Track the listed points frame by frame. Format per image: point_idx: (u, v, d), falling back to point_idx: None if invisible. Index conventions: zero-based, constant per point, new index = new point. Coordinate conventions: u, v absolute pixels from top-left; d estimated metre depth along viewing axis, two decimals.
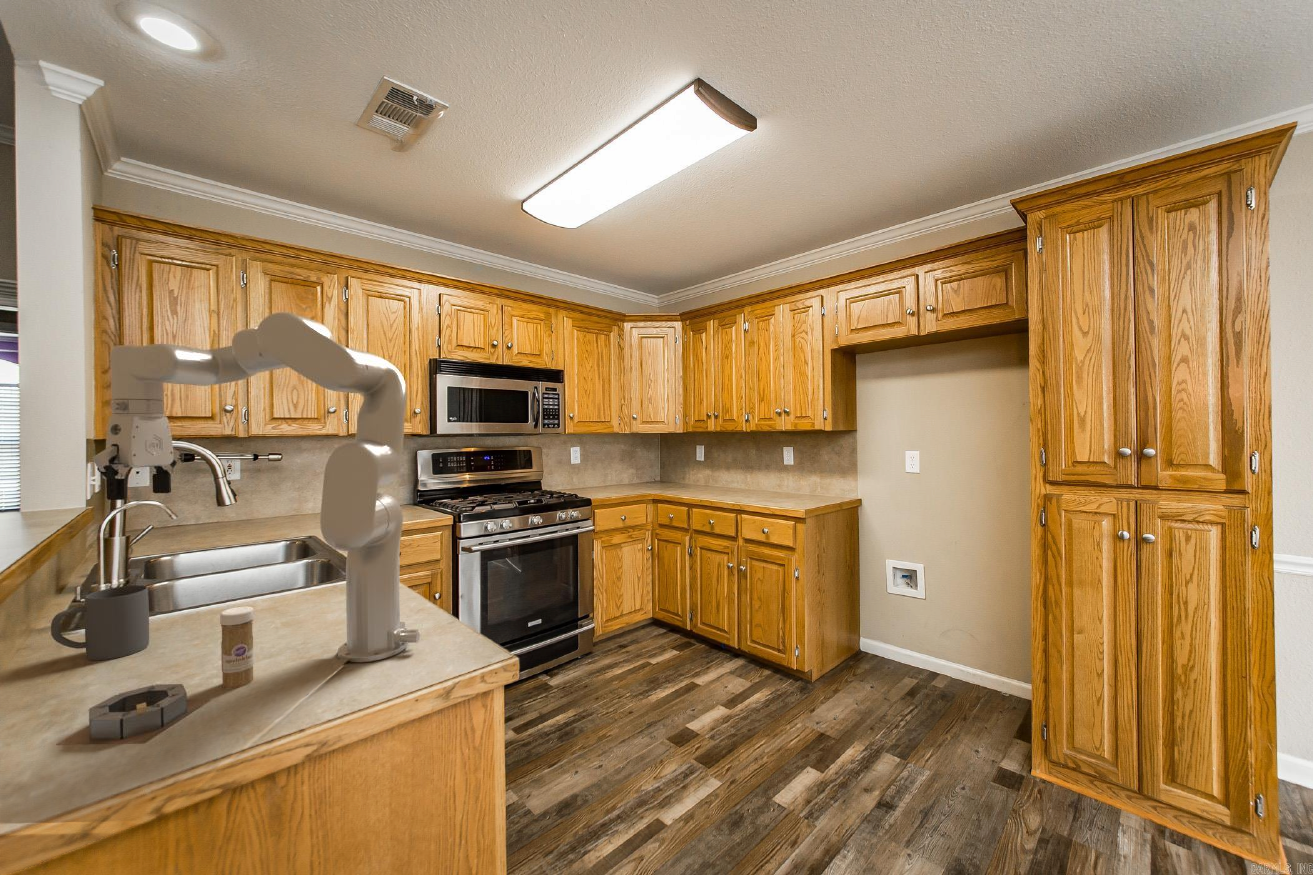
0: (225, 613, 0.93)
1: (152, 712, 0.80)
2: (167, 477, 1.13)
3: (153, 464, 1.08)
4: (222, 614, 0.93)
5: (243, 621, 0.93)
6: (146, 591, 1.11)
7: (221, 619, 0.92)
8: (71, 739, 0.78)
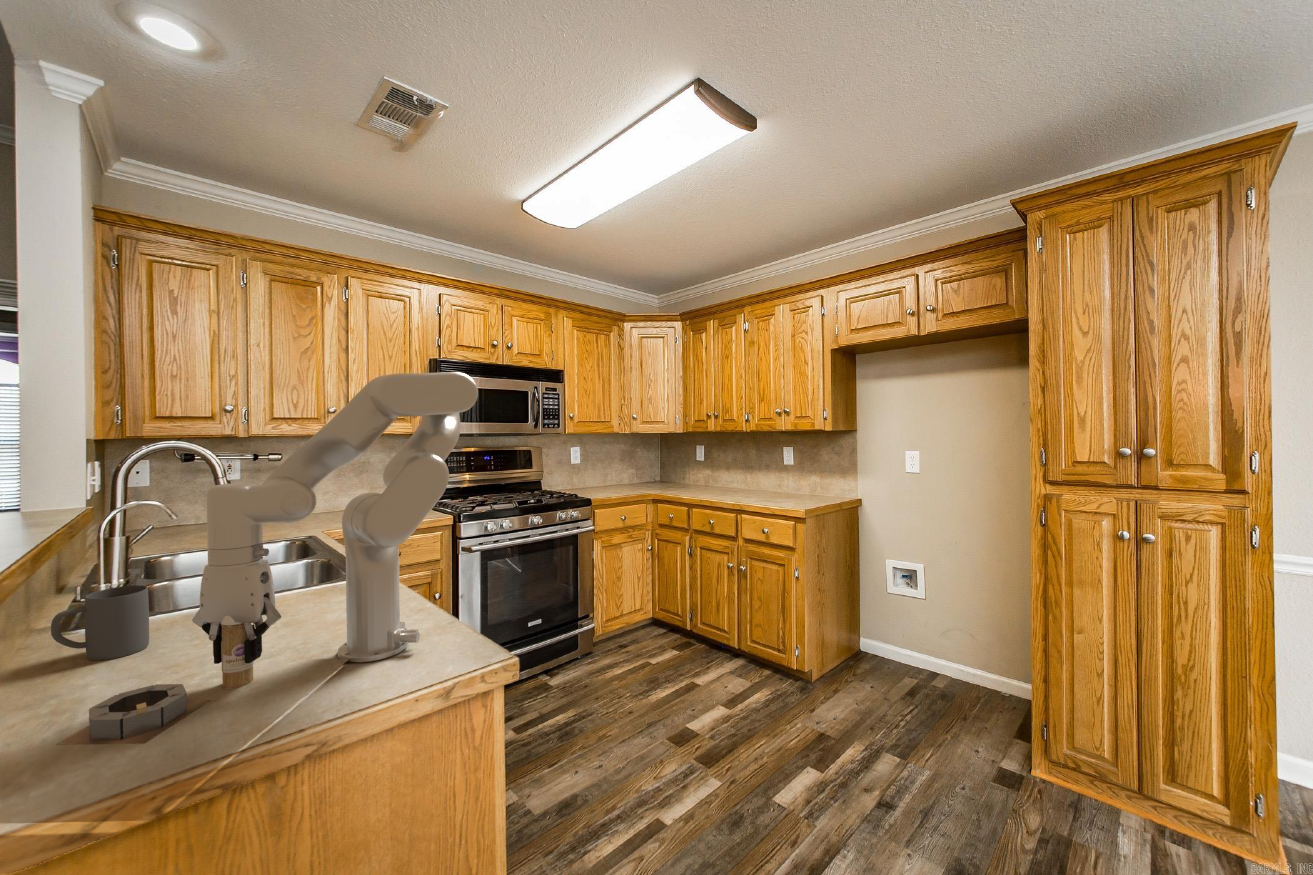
0: None
1: (152, 712, 0.80)
2: None
3: None
4: None
5: None
6: (146, 591, 1.11)
7: None
8: (71, 739, 0.78)
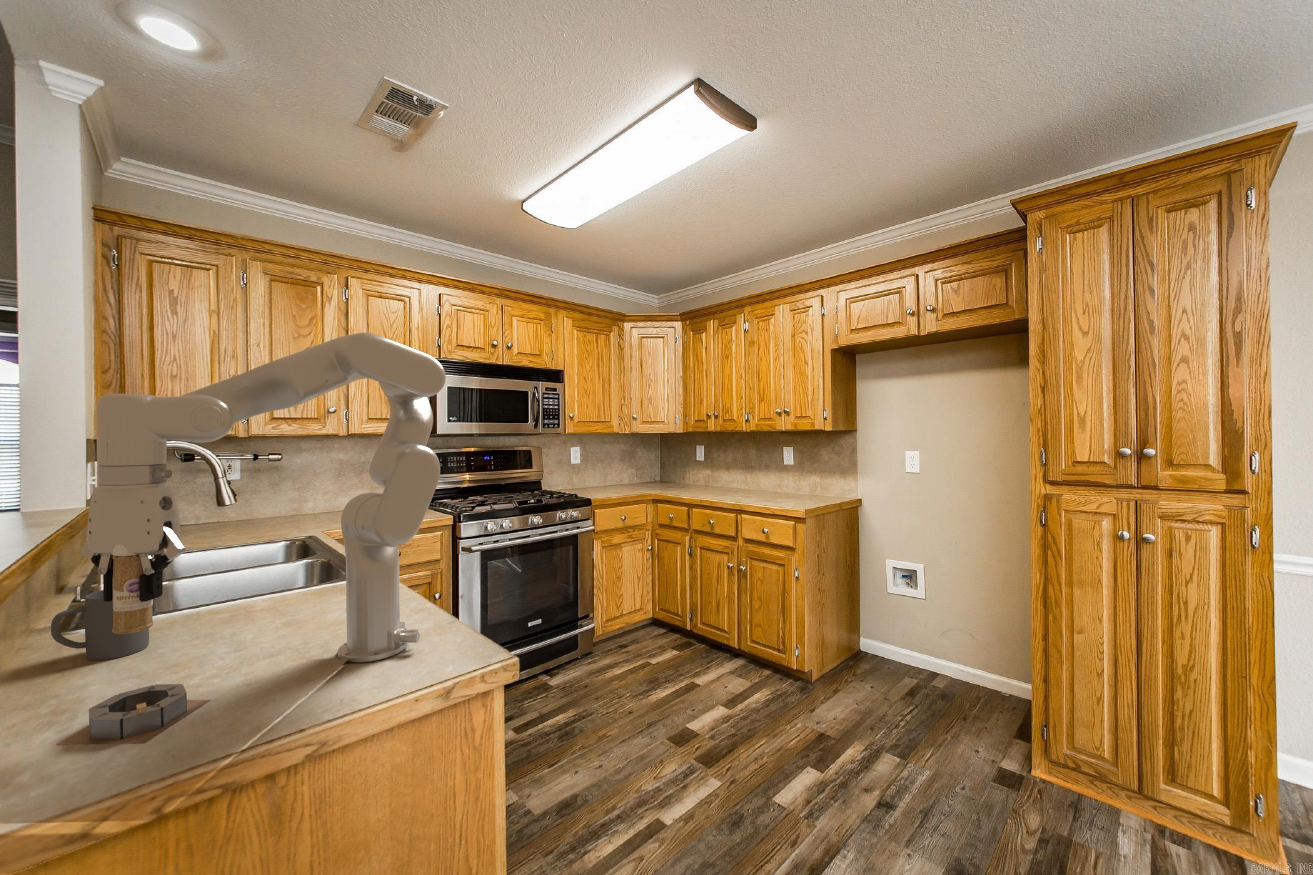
0: None
1: (152, 712, 0.80)
2: None
3: None
4: None
5: None
6: None
7: None
8: (71, 739, 0.78)
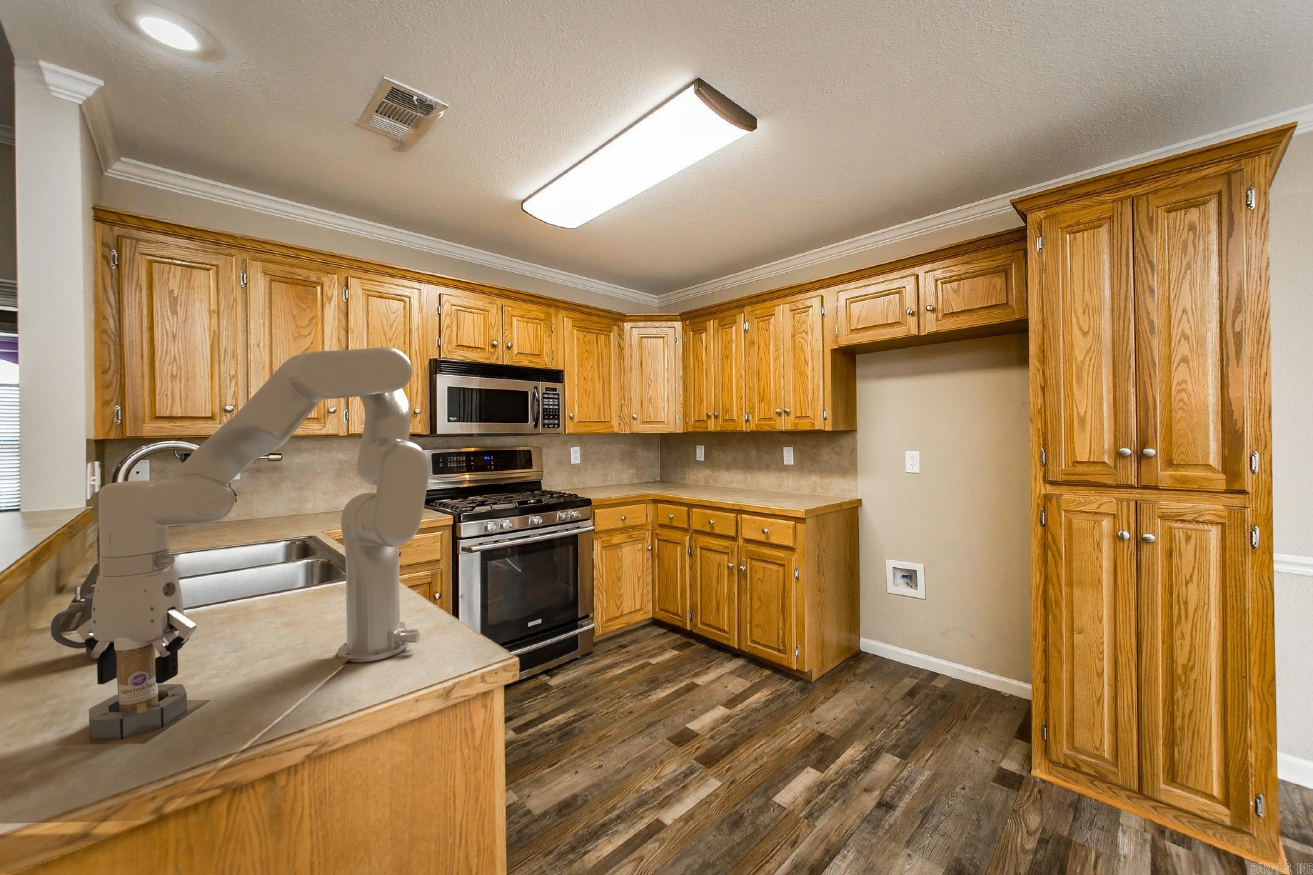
0: None
1: (152, 712, 0.80)
2: None
3: None
4: None
5: (141, 645, 0.81)
6: None
7: (115, 643, 0.80)
8: (71, 739, 0.78)
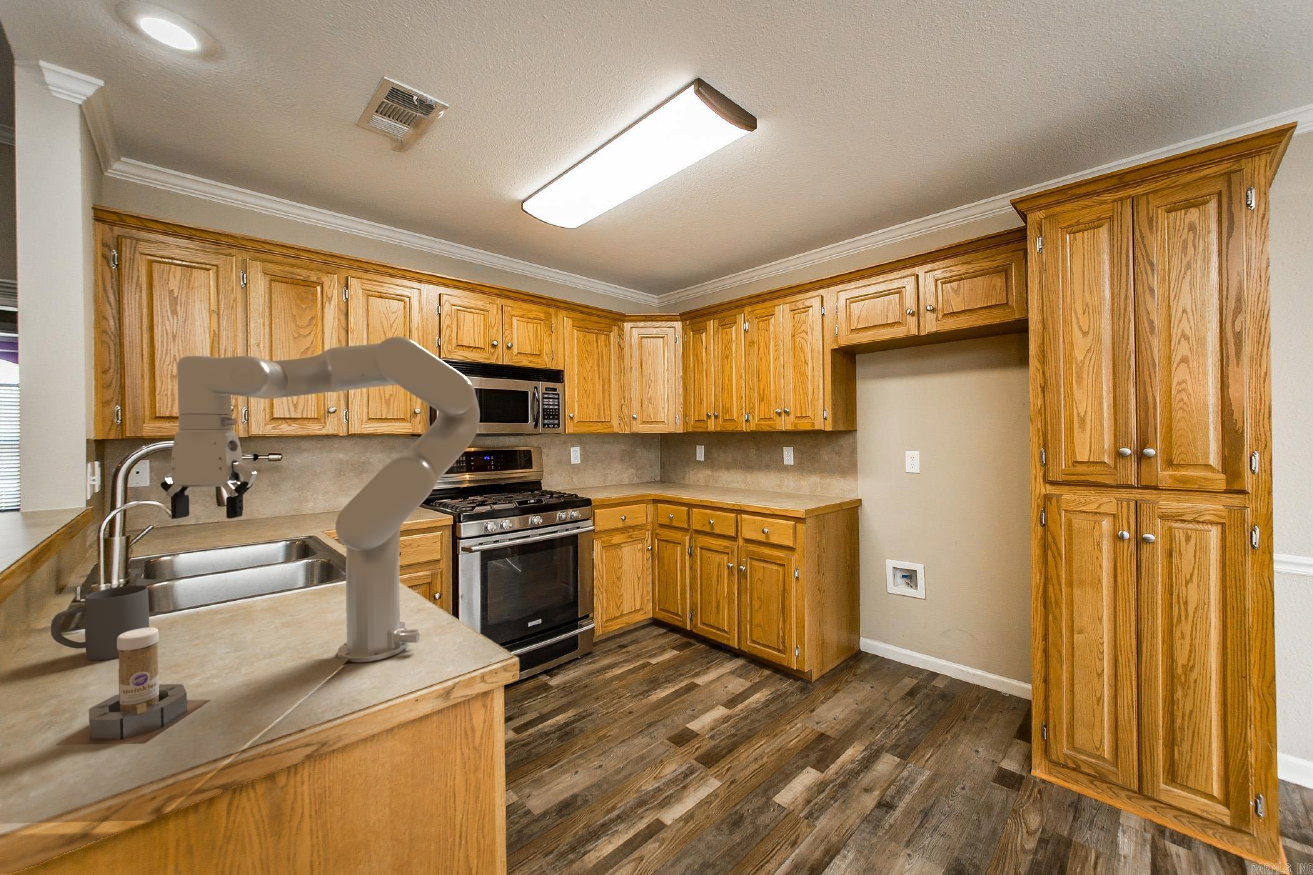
0: (122, 636, 0.81)
1: (152, 712, 0.80)
2: (188, 498, 1.02)
3: None
4: (119, 637, 0.81)
5: (144, 645, 0.81)
6: (146, 591, 1.11)
7: (118, 643, 0.80)
8: (71, 739, 0.78)
